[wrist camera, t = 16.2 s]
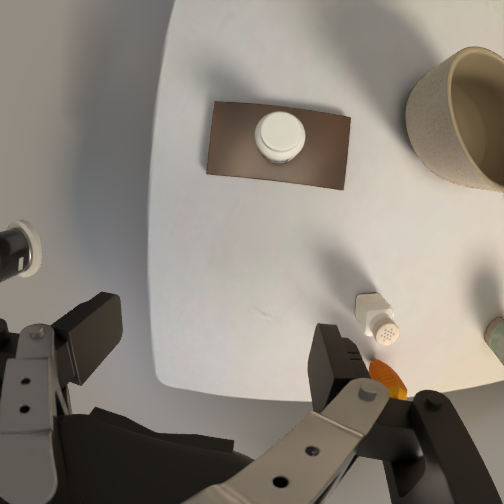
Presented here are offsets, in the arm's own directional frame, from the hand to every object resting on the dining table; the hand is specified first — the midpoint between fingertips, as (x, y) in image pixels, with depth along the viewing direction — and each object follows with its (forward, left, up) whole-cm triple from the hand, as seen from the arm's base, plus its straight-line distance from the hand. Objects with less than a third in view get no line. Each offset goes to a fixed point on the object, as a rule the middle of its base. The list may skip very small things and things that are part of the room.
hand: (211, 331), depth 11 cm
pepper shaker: (+18, -10, -30) cm, 37 cm away
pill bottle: (+2, +11, -29) cm, 31 cm away
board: (+2, +11, -30) cm, 32 cm away
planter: (+26, +18, -30) cm, 44 cm away
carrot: (+22, -20, -30) cm, 42 cm away
